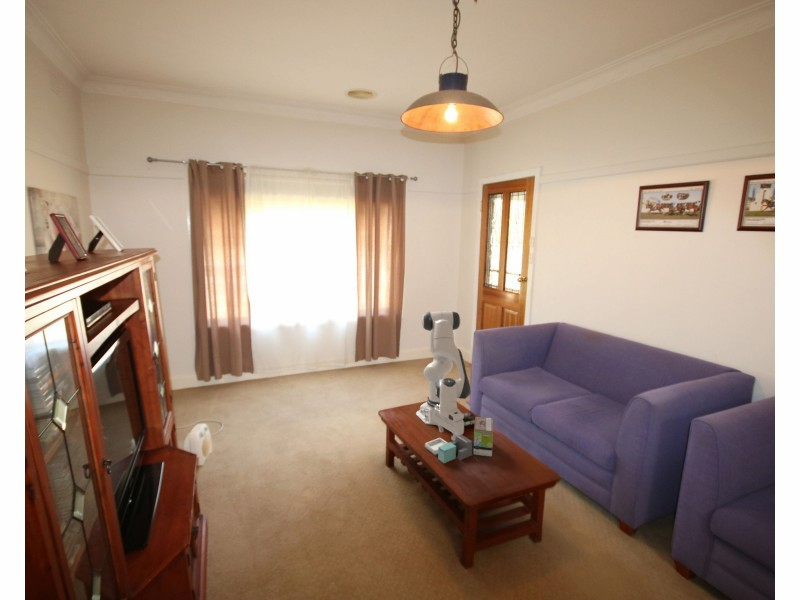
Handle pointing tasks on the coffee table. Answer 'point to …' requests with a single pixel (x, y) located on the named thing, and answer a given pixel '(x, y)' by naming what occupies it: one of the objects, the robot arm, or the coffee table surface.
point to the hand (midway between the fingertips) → (447, 435)
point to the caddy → (447, 452)
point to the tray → (434, 445)
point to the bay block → (463, 446)
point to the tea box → (483, 436)
